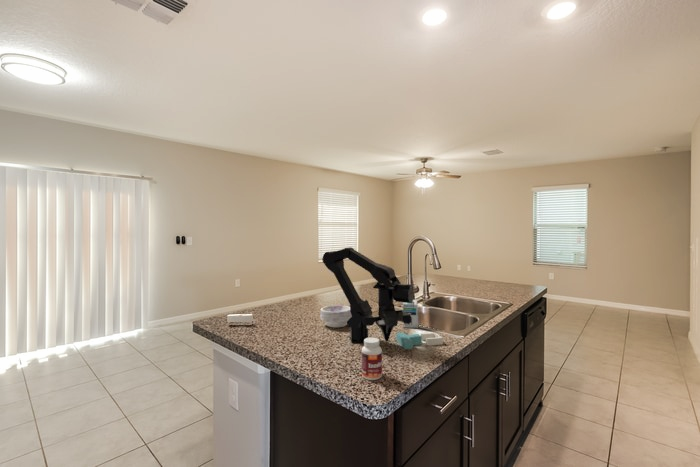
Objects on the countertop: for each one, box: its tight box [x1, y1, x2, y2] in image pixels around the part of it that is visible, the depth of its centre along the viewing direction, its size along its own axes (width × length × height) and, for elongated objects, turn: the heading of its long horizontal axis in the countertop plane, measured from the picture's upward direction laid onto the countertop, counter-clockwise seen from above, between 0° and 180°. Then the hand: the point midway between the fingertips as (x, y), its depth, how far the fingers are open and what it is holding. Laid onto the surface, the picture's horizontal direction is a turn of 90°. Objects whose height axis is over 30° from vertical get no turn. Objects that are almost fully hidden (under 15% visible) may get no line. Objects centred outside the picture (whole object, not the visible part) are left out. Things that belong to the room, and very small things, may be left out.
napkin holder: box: [226, 313, 254, 322], centre depth 152 cm, size 15×11×6 cm
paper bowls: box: [320, 305, 352, 328], centre depth 150 cm, size 15×15×8 cm
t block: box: [395, 331, 423, 350], centre depth 124 cm, size 8×10×3 cm
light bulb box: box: [402, 299, 419, 329], centre depth 149 cm, size 11×7×11 cm, turn 168°
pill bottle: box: [361, 337, 383, 381], centre depth 97 cm, size 6×6×11 cm
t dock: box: [419, 332, 444, 346], centre depth 125 cm, size 6×7×2 cm
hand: (386, 341), depth 122 cm, fingers closed
